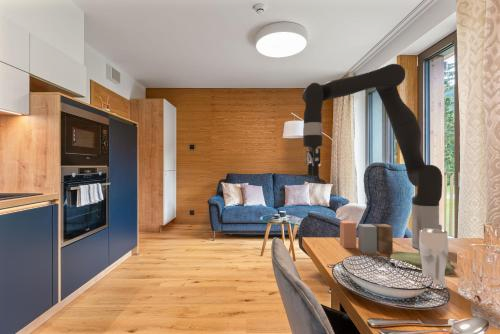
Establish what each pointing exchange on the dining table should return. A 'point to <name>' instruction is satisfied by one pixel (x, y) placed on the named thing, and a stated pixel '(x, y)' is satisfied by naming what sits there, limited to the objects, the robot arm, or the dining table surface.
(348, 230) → the terracotta block
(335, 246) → the dining table surface
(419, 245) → the beer glass
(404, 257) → the washcloth
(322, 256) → the dining table surface
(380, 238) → the walnut block
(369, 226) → the slate-grey block
